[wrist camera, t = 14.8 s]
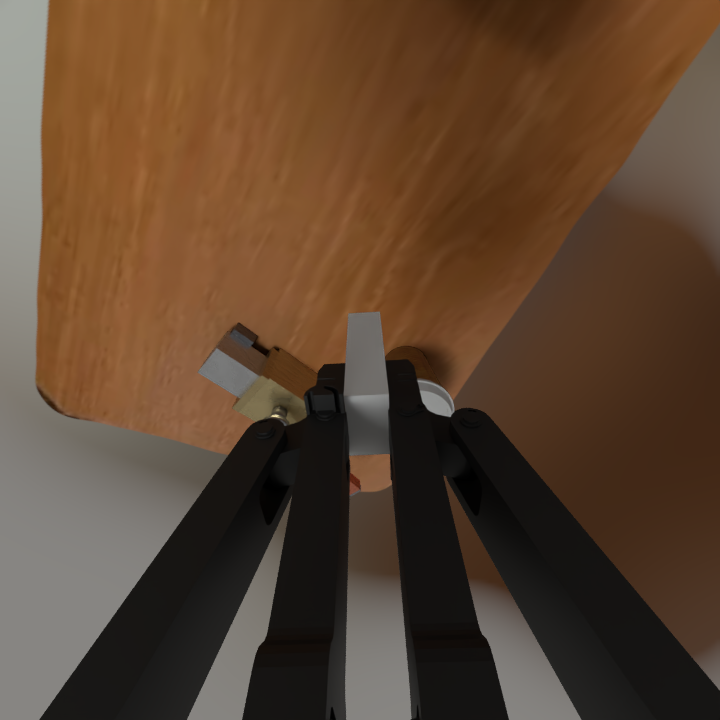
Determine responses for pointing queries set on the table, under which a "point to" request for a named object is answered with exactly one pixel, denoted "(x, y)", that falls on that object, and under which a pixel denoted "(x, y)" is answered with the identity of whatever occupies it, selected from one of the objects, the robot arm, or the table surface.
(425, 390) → the disposable coffee cup
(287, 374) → the bar with tan sleeve
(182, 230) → the table surface
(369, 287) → the table surface
